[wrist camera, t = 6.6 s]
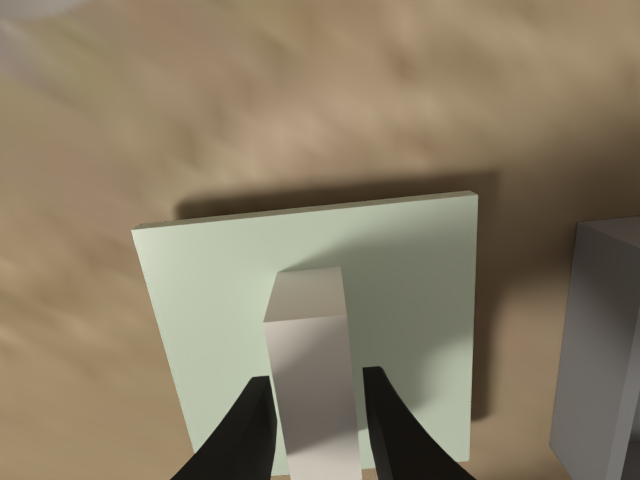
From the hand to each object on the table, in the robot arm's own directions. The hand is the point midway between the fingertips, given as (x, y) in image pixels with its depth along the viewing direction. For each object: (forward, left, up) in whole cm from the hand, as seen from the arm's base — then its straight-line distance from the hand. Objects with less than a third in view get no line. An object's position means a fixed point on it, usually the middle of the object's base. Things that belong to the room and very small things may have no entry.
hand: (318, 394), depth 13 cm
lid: (0, 0, -3) cm, 3 cm away
